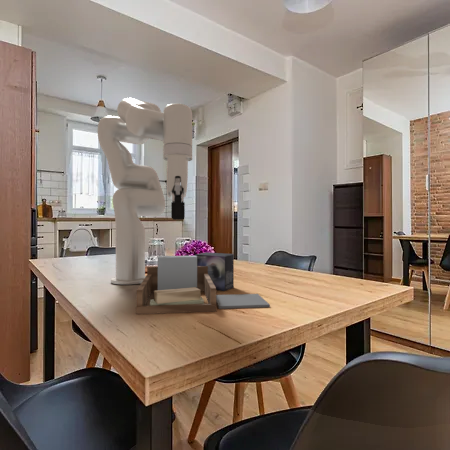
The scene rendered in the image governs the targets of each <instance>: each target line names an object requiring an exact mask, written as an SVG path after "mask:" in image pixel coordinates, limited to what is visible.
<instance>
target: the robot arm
mask: <svg viewBox="0 0 450 450" xmlns="http://www.w3.org/2000/svg"><path fill="white" fill-rule="evenodd" d="M116 109H117V111H116V112H117V114H118V115H117V116H115V115H113V116H112V115H107V116H104V117H102V118H100V119H99V121H98V124H97V137H98V138H97V139H98V143H99V145H100V148H101V150H102V152H103V153H104V155H105V158H106V159H107V164H108V169H109V173H110V177H111V180H112V184H113V185H114V187H115V188H116V189H117V190H116V191H114V193H113V194H112V206H113V213H114V220H115V221H114V222H115V277H112V278H110V283H111V284H114V285H125V286H126V285H138V284H141V283H142V281H143V280H144V279H145V277H146V276H147V275H146V229H145V226H144V224H143V223H142V221H141V220H140V218H139V217H158V216H162V215H163V213H164V211H165V209H166V200H165V195H164V191H163V188H162V184H161V183H160V182H161V181H160V178H159V175H158V173H157V170H155V168H153V167H151V166H149V165H143V164H137V163H135V162H134V161H133V156H132V154H131V152H130V151H129V149H128V148H127V147H126V146H125V145H124V144H122V143H128V144H133V145H138V146H139V145H143V144H144V145H145V143H147V142H148V140H149V139H150V140H155V141H160V142H163V146H162V147H163V149H162V151H163V153H162V155H163V157H162V159H163V160H164V161H166V196H167V197H168V198H169V199H170V198H171V197H172V199H171V201H172V202H171V201H170V202H171V207H170V209H171V215H170V216H171V219H172V220H174V221H175V220H177V221H178V220H179V221H180V220H182V221H183V220H185V218H186V217H185V214H186V213H185V212H186V211H185V210H186V209H185V207H186V206H185V201H184V199H185V198H186V196H187V190H188V182H189V181H188V176H189V175H188V174H189V171H188V170H189V168H188V167H189V164H188V163H189V162H191V161H193V111H192V109H191V107H189V106H188V105H186V104H183V103H170V104H167V105H165V107H164V108H163V111H162V110H161V109H160V107H159V105H157V104H155V103H152V102H149V101H144V100H141V99H136V98H132V97H129V98H128V97H127V98H123V99H122V100H121V101H119V103H118V105H117V108H116Z"/></svg>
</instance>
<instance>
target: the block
mask: <svg viewBox="0 0 450 450" xmlns="http://www.w3.org/2000/svg"><path fill="white" fill-rule="evenodd" d="M157 267H158V290H169V289H181V288H193V287H196V288H197V256H195V255H158V256H157Z"/></svg>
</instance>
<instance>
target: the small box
mask: <svg viewBox="0 0 450 450" xmlns="http://www.w3.org/2000/svg"><path fill="white" fill-rule="evenodd" d="M194 256H197V266H208V275H209V276H210V278H211V280H212V282H213V284H214V285H215V287H216V291H221V292H222V291H223V292H226V291H229V290H232V289H234V288H235V287H234V286H235V285H234V282H235V281H234V275H235V274H234V271H235V270H234V267H235V266H234V263H235V261H234V256H235V254H234V253H222V252H201V253H197V254H195V255H194Z"/></svg>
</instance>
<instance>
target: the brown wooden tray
mask: <svg viewBox="0 0 450 450" xmlns="http://www.w3.org/2000/svg"><path fill="white" fill-rule="evenodd" d="M146 270H147V271H146V272H147V274H146V275H145V276H146V277H145V279H144V280H143V281H142V283H140V285H139V286H138V288H137V289H136V293H135V294H136V295H135V296H136V303H135V304H136V307H135V314H136V315H148V314H150V315H151V314H155V315H156V314H176V313H177V314H179V313H180V314H181V313H182V314H183V313H205V312H206V313H207V312H209V313H210V312H217V303H216V295H217V290H216V287H215V285H214V284H213V282H212V280H211V278H210V276H209V275H208V266H197V288H198V289H200V290H201V291H203V293H204V296H205V297H206V302H207V303H204V304H179V305H150V304H149V305H147V303H148V301H149V300H150V299H149V298H150V296H151V294H152V293H154V291H157V290H158V266H147V267H146Z"/></svg>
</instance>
